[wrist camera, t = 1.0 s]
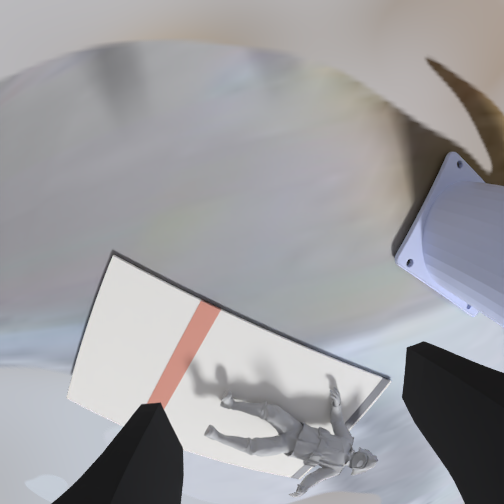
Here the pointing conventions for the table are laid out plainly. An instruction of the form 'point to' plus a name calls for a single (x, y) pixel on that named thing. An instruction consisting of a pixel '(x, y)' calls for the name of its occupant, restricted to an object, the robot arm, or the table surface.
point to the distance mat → (205, 369)
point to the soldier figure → (299, 441)
